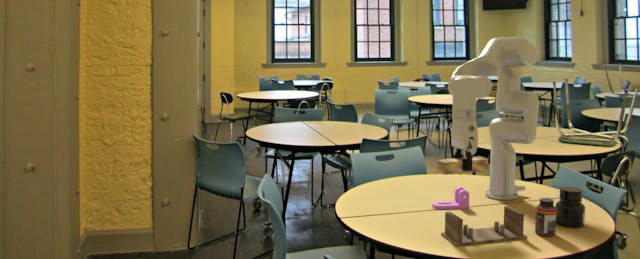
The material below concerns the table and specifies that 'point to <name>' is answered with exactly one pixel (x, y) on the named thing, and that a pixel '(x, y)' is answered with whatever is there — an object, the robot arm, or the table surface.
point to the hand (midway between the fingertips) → (462, 167)
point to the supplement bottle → (545, 217)
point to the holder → (484, 229)
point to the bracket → (455, 201)
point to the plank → (461, 165)
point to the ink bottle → (570, 207)
